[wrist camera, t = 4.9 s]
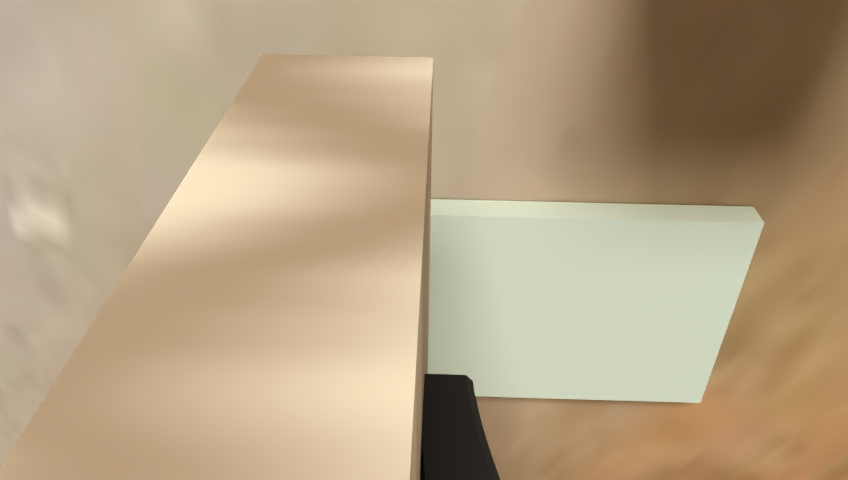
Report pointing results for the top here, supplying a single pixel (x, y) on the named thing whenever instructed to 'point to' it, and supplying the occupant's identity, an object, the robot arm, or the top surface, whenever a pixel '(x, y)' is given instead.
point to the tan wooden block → (267, 298)
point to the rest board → (584, 296)
